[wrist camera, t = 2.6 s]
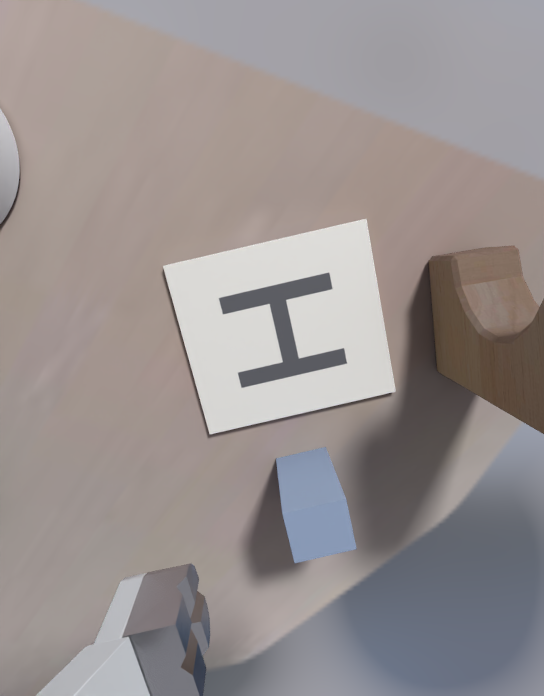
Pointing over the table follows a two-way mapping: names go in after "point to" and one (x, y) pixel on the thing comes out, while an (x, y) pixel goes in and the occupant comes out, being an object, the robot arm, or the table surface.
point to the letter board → (283, 326)
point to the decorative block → (490, 329)
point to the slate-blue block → (313, 506)
